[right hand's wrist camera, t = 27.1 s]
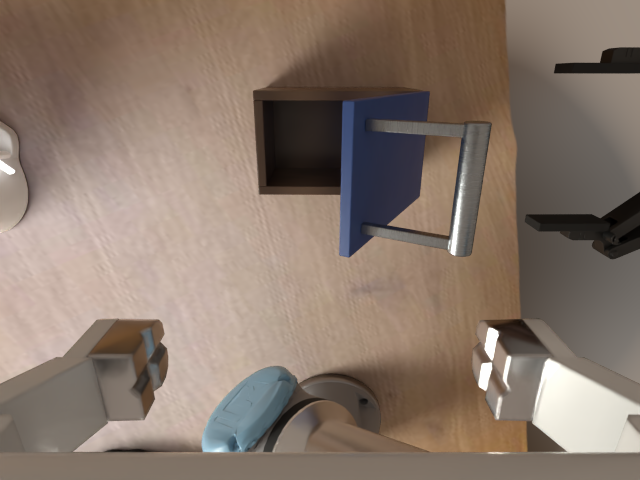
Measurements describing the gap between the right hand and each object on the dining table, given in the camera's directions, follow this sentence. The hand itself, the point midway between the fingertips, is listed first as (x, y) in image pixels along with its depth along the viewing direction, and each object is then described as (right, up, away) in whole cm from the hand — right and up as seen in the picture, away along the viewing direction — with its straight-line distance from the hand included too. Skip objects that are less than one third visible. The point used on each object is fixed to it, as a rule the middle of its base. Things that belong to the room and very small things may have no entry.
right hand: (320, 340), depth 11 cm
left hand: (+20, +11, +26) cm, 35 cm away
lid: (+5, +9, +22) cm, 24 cm away
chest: (+2, +15, +38) cm, 41 cm away
